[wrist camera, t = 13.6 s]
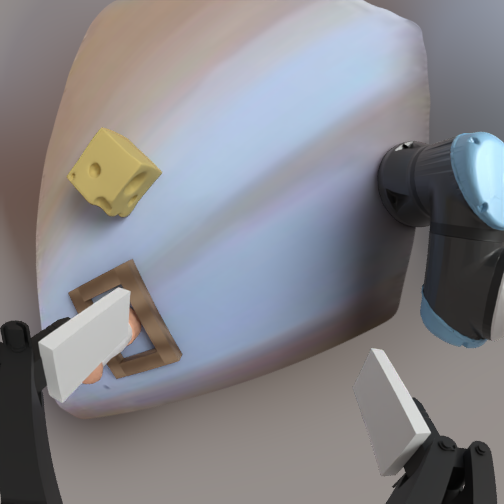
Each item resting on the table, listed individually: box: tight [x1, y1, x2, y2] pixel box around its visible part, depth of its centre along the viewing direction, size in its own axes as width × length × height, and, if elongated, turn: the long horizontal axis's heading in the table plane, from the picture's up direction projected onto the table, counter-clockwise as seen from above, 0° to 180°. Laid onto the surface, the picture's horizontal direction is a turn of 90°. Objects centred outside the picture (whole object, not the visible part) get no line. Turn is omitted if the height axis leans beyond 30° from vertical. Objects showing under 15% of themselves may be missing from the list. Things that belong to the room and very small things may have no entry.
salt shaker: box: [82, 307, 142, 384], centre depth 41 cm, size 7×7×19 cm
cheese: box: [67, 128, 162, 217], centre depth 41 cm, size 10×11×10 cm
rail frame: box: [68, 259, 182, 379], centre depth 49 cm, size 20×16×2 cm
